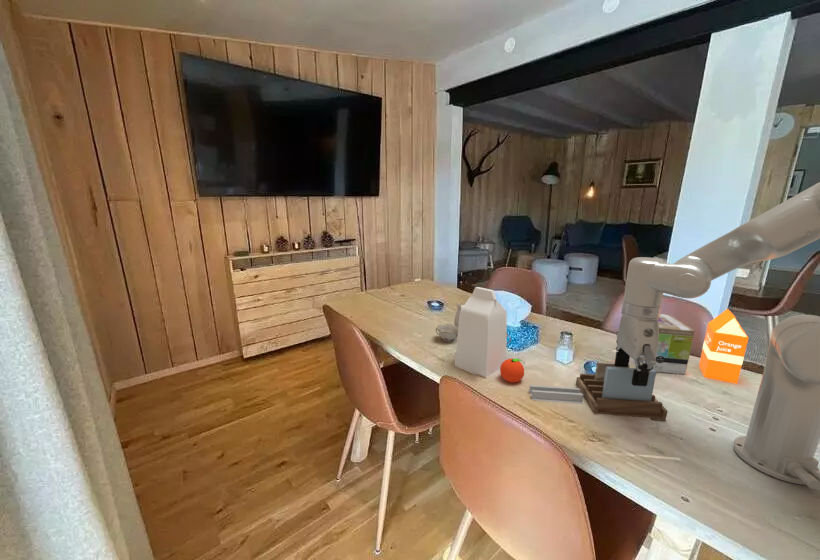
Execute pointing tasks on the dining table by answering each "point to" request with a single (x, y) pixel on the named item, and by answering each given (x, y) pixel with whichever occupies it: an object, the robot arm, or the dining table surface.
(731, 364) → the orange juice
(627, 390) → the grey upright panel
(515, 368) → the clementine
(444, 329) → the chinaware
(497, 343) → the milk
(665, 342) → the tea box
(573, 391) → the stand
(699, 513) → the dining table surface
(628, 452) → the dining table surface
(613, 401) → the rack
